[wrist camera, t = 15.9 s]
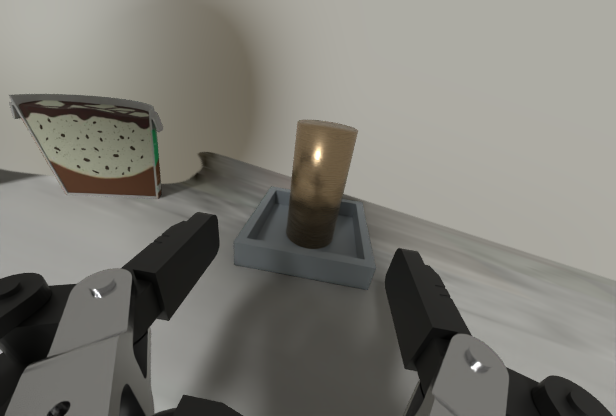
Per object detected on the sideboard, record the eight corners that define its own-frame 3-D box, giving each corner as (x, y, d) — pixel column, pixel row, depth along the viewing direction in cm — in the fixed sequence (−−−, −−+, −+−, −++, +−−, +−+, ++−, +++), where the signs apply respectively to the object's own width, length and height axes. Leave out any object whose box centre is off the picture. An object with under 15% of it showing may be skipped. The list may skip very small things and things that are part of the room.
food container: (187, 179, 32) (177, 104, 27) (172, 199, 27) (155, 111, 22) (88, 173, 30) (57, 90, 25) (50, 194, 25) (1, 94, 20)
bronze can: (281, 243, 21) (293, 125, 16) (290, 217, 26) (301, 117, 21) (332, 252, 21) (361, 136, 16) (332, 224, 26) (355, 126, 20)
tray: (234, 264, 19) (233, 242, 18) (270, 203, 29) (271, 186, 28) (367, 289, 19) (375, 268, 17) (357, 218, 29) (362, 202, 28)
